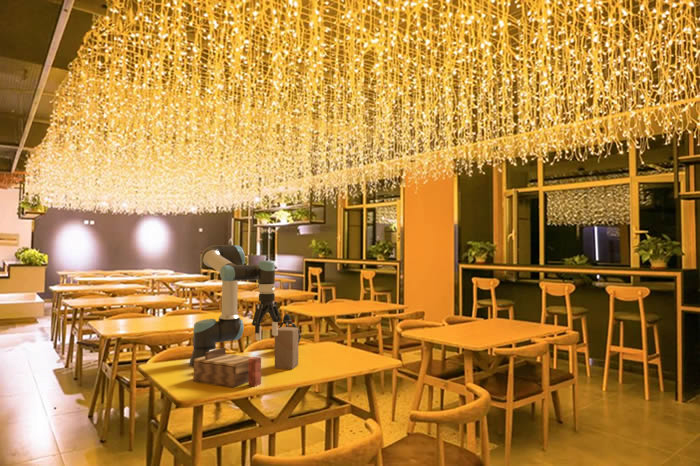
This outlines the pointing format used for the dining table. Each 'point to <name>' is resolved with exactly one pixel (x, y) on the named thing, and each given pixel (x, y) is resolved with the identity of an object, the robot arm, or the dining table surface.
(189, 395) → the dining table surface
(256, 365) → the reddish-brown wooden bar
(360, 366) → the dining table surface
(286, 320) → the teapot
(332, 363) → the dining table surface
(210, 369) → the toolbox
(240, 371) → the lid
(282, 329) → the wooden block
